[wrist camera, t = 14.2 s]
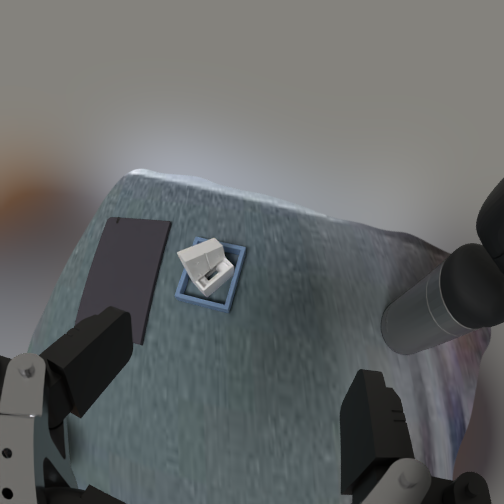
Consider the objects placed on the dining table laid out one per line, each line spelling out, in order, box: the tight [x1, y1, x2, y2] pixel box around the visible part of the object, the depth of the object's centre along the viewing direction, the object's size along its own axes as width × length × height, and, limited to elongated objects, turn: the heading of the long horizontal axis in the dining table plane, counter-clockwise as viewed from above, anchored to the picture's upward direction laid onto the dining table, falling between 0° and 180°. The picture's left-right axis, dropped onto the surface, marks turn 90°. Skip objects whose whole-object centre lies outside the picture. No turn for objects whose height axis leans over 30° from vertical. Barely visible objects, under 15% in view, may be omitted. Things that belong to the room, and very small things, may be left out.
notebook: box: [75, 217, 171, 345], centre depth 46 cm, size 13×2×21 cm
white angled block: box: [177, 238, 235, 297], centre depth 42 cm, size 4×10×9 cm, turn 133°
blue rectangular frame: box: [175, 237, 246, 313], centre depth 45 cm, size 8×10×2 cm
